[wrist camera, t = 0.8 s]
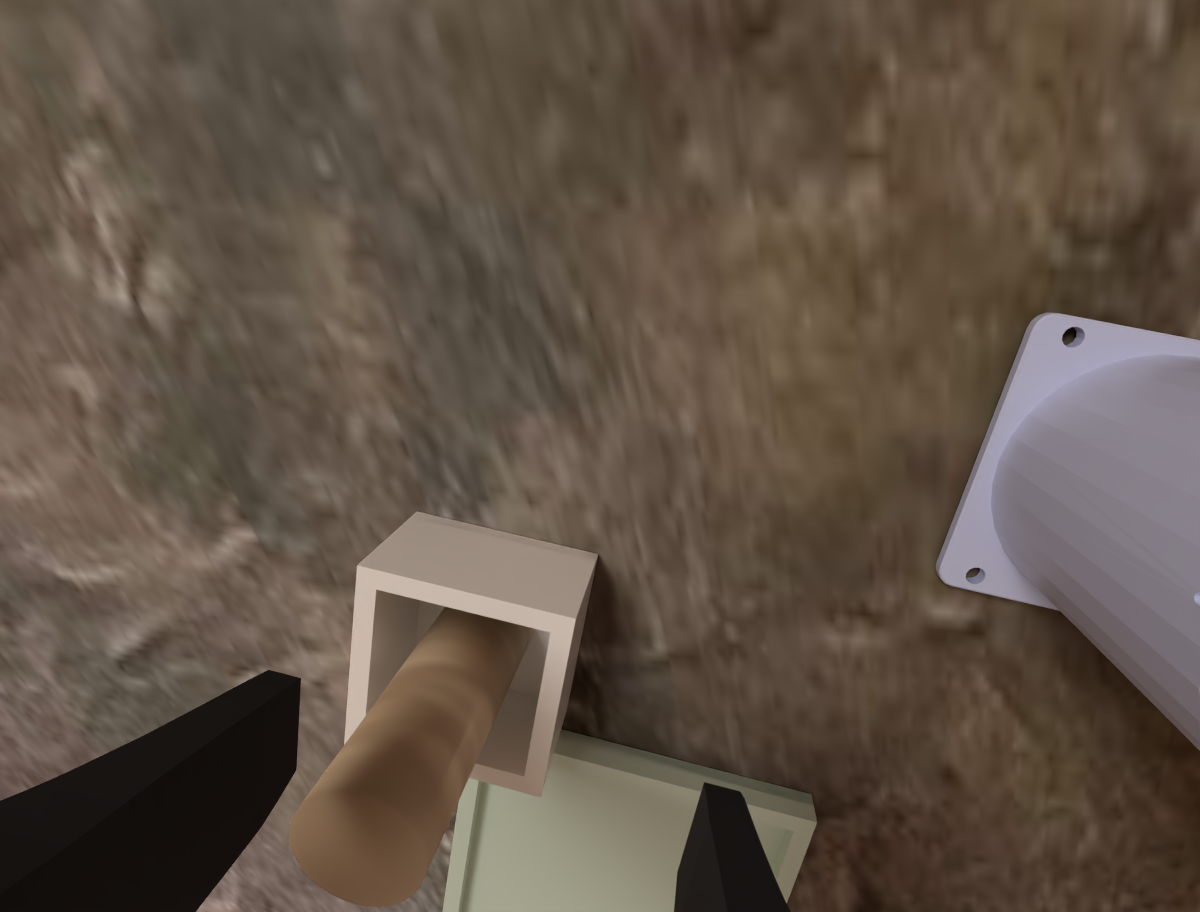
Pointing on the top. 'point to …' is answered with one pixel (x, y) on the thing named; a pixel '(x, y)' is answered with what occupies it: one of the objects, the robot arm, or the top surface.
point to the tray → (604, 832)
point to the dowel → (408, 763)
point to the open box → (485, 587)
